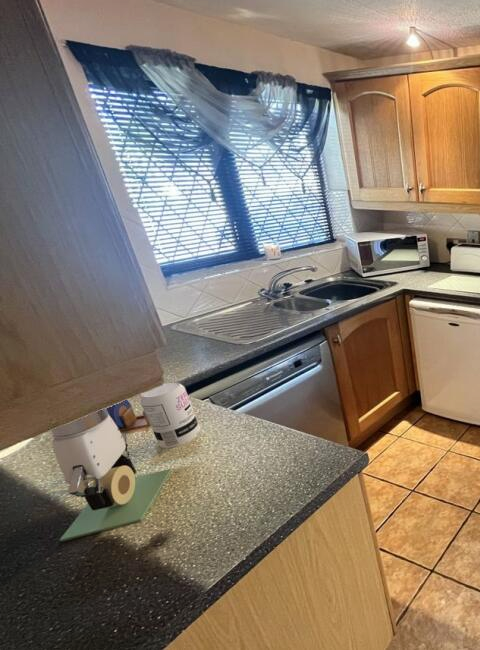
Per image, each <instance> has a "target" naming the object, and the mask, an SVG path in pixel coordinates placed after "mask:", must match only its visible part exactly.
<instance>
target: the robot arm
mask: <svg viewBox="0 0 480 650" xmlns="http://www.w3.org/2000/svg"><path fill="white" fill-rule="evenodd" d="M48 432H49V434H50V435H51V437H52V440H51V442H52V448H53V452H54V455H55V459H56V460H57V464H58V467H59V468H60V471H61V473H62V475H63V477H64V479H65V481H66V482H67V484H68V485H69V487H68V491H67V492H68V495H71V496H75V497H80V498H85V500H86V502H87V504H89V506H90V507H91V509H92V510H98V509H102V508H106V507H110V506H113V504H114V500H113V499H112V497H111V495H110V493H109V491H108V489H107V488H105V489H103V476H104V475H105V474H106V473H107V472H108V471H109V470H110V469H111V468H115V467H120V466H128V467H130V468H131V469H132V471H133V473H134V475H136V473H137V470H136V468H135V466H134V464H133V462H132V460H131V458H130V456H131V452H129V451H128V446H129V445H128V442H127V434H126V433H120V431H119V429H118V427H117V426H116V424H115V423H114V421H113V420H112V418H111V417H110V416H109V414H108V411H107V409H106V408H105V409H103V410H100V411H98V412H95V413H92V414H90V415H88V416H86V417H83V418H80V419H78V420H76V421H73V422H71V423H69V424H66V425H63V426H61V427H58V428H56V429H53V430H51V431H49V430H48ZM88 476H91V477H88ZM94 480H95V487H92V486H89V482H94Z"/></svg>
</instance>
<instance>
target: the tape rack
mask: <svg viewBox="0 0 480 650" xmlns="http://www.w3.org/2000/svg"><path fill="white" fill-rule="evenodd" d="M122 419H123V421H124V423H125V425H126V427H124V428H118V429H119V431H120V433H126V435H129V434H135V433H139V432H144V431H148V430H149V429H150V428H151V425H150V423H149V421H148V419H147V416H146V414H145V412H144V410H143V411H142V413H141V414H135V411H134V409H133V407H132V406H131V407H129V408H128V409H127V410H126V412H125V413H124V414H123V415H122Z"/></svg>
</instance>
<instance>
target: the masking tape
mask: <svg viewBox="0 0 480 650" xmlns="http://www.w3.org/2000/svg"><path fill="white" fill-rule="evenodd" d="M135 477H136V476H135V474H134V473H133V471H132V469H131V468H130V467H128V466H120V467H115V468H110V470H109V471H108V472H107V473H106V474H105V475H104V476H103V489H105V488H107V489H108V491H109V493H110V495H111V497H112V499H113V500H114V504H113V506H110V507H114V506H119V505H123V504H125V503H127V502H128V501H129V500H130V499H131V497H132V495H133V493H134V489H135ZM91 487H95V480H93V481H92V486H91ZM110 507H106V508H110ZM106 508H102V509H106Z"/></svg>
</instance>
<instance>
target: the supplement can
mask: <svg viewBox="0 0 480 650" xmlns="http://www.w3.org/2000/svg"><path fill="white" fill-rule="evenodd" d="M163 382H164V384H163V386H161V387H158V388H155V389H153V390H151V391H148V392H145V393H142V392H141V395H140V400H139V402H140V405H141V407H142V409H143V411H144V412H145V414H146V416H147V419H148V421H149V423H150V425H151V426H150V428H151V430H152V433H153V435H154V437H155V439H156V441H157V444H158V446H159V447H160V448H163V449H170V448H171V449H172V448H176V447H179V446H181V445H182V446H183V445H185V444H187V443H189V442H191V441H192V440H194V439H195V438H196V437H197V436H198V435H199V434H200V433H201V426H200V423H199V421H198V419H197V416H196V413H195V410H194V408H193V405H192V403H191V400H190V398H189V395H188V392H187V389H186V387H185V386H184V385H183V384H181V383H180V382H179V381H175V380H169V381H168V380H167V381H163Z"/></svg>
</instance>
